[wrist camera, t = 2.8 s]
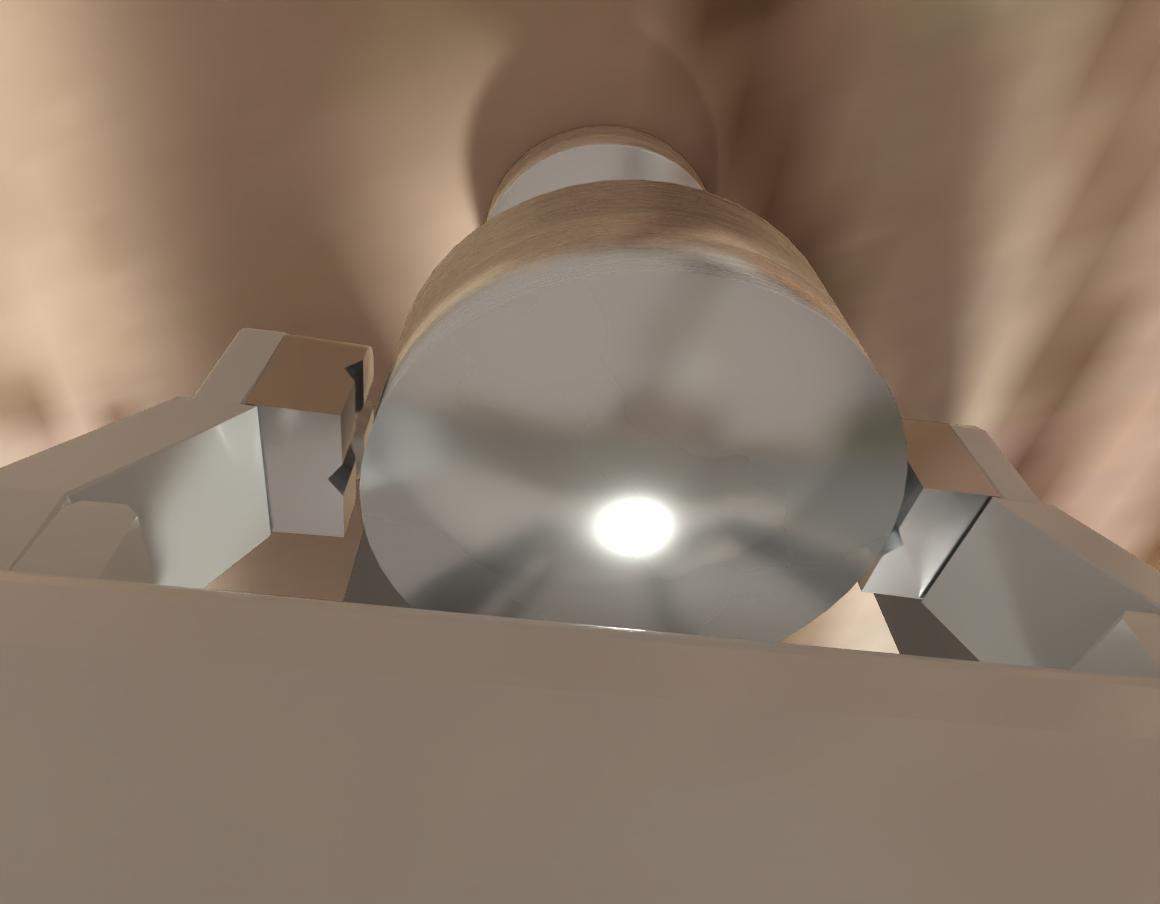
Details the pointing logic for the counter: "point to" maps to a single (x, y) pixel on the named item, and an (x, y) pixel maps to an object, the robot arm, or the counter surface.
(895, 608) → the keyhole stand
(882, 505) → the steel peg
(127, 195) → the counter surface
